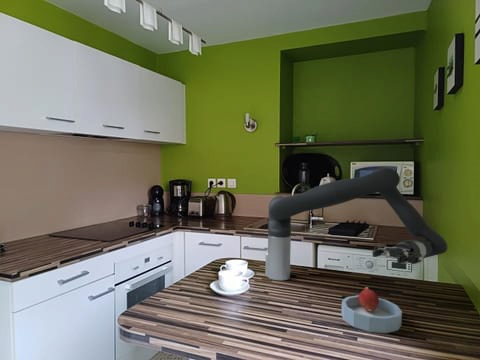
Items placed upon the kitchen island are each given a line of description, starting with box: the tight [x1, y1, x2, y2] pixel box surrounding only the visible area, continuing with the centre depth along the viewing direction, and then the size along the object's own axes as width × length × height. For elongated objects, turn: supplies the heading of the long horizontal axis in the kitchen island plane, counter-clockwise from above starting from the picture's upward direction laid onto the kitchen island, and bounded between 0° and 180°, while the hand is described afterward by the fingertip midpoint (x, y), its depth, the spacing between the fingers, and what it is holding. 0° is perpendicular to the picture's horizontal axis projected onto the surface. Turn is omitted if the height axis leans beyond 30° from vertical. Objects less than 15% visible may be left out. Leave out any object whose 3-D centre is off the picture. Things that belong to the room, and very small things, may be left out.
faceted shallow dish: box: [341, 294, 403, 334], centre depth 97 cm, size 16×16×4 cm
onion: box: [358, 286, 379, 311], centre depth 101 cm, size 6×6×8 cm
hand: (385, 256), depth 107 cm, fingers open, 8 cm apart
